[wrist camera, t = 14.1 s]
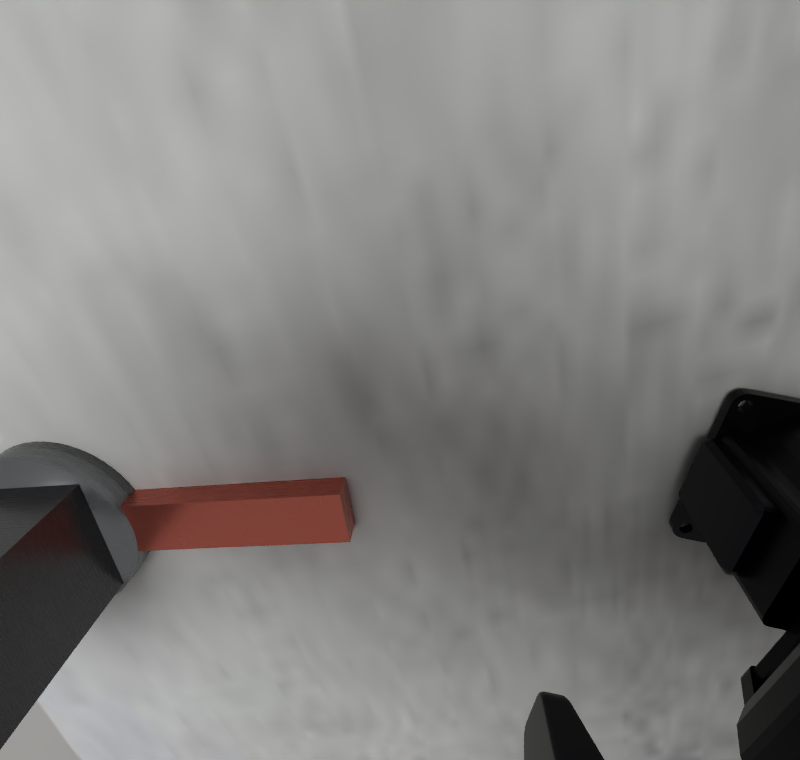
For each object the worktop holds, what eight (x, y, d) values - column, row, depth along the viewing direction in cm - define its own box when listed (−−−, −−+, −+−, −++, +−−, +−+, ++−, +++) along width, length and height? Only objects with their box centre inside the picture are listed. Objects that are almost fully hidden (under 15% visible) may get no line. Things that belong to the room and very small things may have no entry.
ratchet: (332, 418, 22) (306, 476, 18) (365, 572, 25) (349, 647, 21) (-46, 447, 24) (-134, 503, 21) (27, 583, 28) (-38, 651, 24)
